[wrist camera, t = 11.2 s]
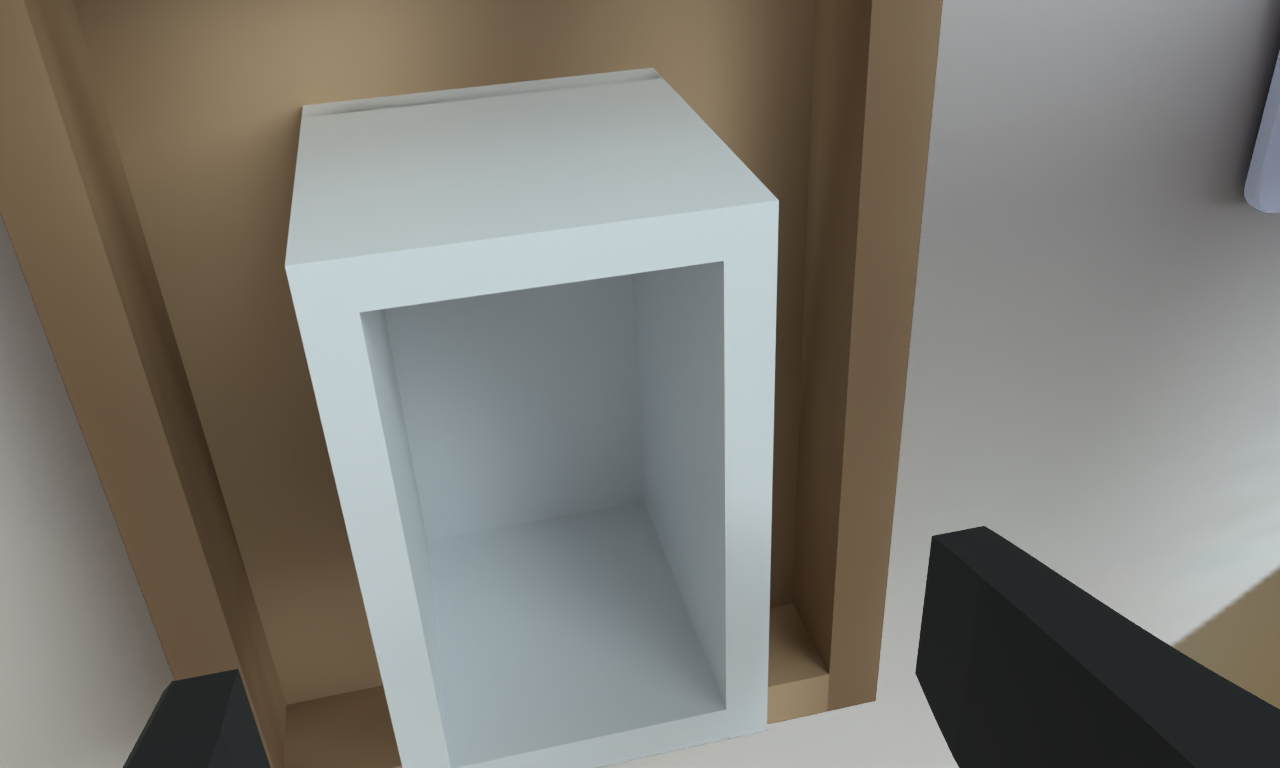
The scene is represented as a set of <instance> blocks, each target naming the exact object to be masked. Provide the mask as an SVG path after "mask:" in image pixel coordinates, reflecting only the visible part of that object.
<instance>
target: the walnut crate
mask: <svg viewBox="0 0 1280 768" xmlns="http://www.w3.org/2000/svg"><path fill="white" fill-rule="evenodd" d="M942 4H943V0H0V213H1V216H2V218H3V221H4V224H5V226H6V229H7V232H8V234H9V237H10V240H11V242H12V245H13V248H14V251H15V253H16V256H17V259H18V261H19V264H20V267H21V269H22V272H23V275H24V277H25V280H26V283H27V285H28V288H29V291H30V293H31V296H32V299H33V301H34V304H35V307H36V310H37V312H38V315H39V318H40V320H41V323H42V326H43V328H44V331H45V334H46V336H47V339H48V342H49V344H50V347H51V350H52V352H53V355H54V358H55V361H56V363H57V366H58V369H59V371H60V374H61V377H62V379H63V382H64V385H65V387H66V390H67V393H68V395H69V398H70V401H71V403H72V406H73V409H74V411H75V414H76V417H77V420H78V422H79V425H80V428H81V430H82V433H83V436H84V438H85V441H86V444H87V446H88V449H89V452H90V454H91V457H92V460H93V462H94V465H95V468H96V470H97V473H98V476H99V479H100V481H101V484H102V487H103V489H104V492H105V495H106V497H107V500H108V503H109V505H110V508H111V511H112V513H113V516H114V519H115V521H116V524H117V527H118V530H119V532H120V535H121V538H122V540H123V543H124V546H125V548H126V551H127V554H128V556H129V559H130V562H131V564H132V567H133V570H134V572H135V575H136V578H137V580H138V583H139V586H140V589H141V591H142V594H143V597H144V599H145V602H146V605H147V607H148V610H149V613H150V615H151V618H152V621H153V623H154V626H155V629H156V631H157V634H158V637H159V639H160V642H161V645H162V648H163V650H164V653H165V656H166V658H167V661H168V664H169V666H170V669H171V672H172V674H173V677H174V680H175V681H177V680H182V679H187V678H192V677H197V676H203V675H208V674H213V673H218V672H224V671H229V670H234V669H239V672H240V675H241V679H242V682H243V685H244V688H245V691H246V694H247V697H248V700H249V703H250V706H251V709H252V712H253V715H254V718H255V721H256V724H257V727H258V730H259V733H260V736H261V739H262V743H263V746H264V749H265V752H266V755H267V758H268V761H269V764H270V767H271V768H402V763H401V759H400V755H399V751H398V746H397V742H396V738H395V734H394V729H393V725H392V721H391V717H390V712H389V708H388V704H387V700H386V695H385V691H384V687H383V683H382V678H381V674H380V670H379V665H378V661H377V657H376V653H375V648H374V644H373V640H372V636H371V631H370V627H369V623H368V619H367V614H366V610H365V606H364V602H363V597H362V593H361V589H360V585H359V580H358V576H357V572H356V568H355V563H354V559H353V555H352V551H351V546H350V542H349V538H348V533H347V529H346V525H345V521H344V516H343V512H342V508H341V504H340V499H339V495H338V491H337V487H336V482H335V478H334V474H333V470H332V465H331V461H330V457H329V453H328V448H327V444H326V440H325V436H324V431H323V427H322V423H321V419H320V414H319V410H318V406H317V401H316V397H315V393H314V389H313V384H312V380H311V376H310V372H309V367H308V363H307V359H306V355H305V350H304V346H303V342H302V338H301V333H300V329H299V325H298V321H297V316H296V312H295V308H294V304H293V299H292V295H291V291H290V287H289V282H288V278H287V274H286V270H285V259H286V250H287V241H288V233H289V224H290V215H291V206H292V197H293V189H294V180H295V171H296V162H297V153H298V145H299V136H300V127H301V118H302V109H303V105H312V104H321V103H330V102H340V101H349V100H358V99H367V98H377V97H386V96H395V95H404V94H413V93H423V92H432V91H441V90H450V89H460V88H469V87H478V86H487V85H496V84H506V83H515V82H524V81H533V80H543V79H552V78H561V77H570V76H579V75H589V74H598V73H607V72H616V71H626V70H635V69H644V68H654V69H655V70H656V71H657V72H658V73H659V74H660V75H661V76H662V77H663V79H664V80H665V81H666V82H667V83H668V84H669V85H670V86H671V87H672V88H673V89H674V90H675V91H676V92H677V93H678V94H679V95H680V96H681V98H682V99H683V100H684V101H685V102H686V103H687V104H688V105H689V106H690V107H691V108H692V109H693V110H694V111H695V112H696V113H697V114H698V115H699V117H700V118H701V119H702V120H703V121H704V122H705V123H706V124H707V125H708V126H709V127H710V128H711V129H712V130H713V131H714V132H715V133H716V135H717V136H718V137H719V138H720V139H721V140H722V141H723V142H724V143H725V144H726V145H727V146H728V147H729V148H730V149H731V150H732V151H733V152H734V154H735V155H736V156H737V157H738V158H739V159H740V160H741V161H742V162H743V163H744V164H745V165H746V166H747V167H748V168H749V169H750V170H751V171H752V173H753V174H754V175H755V176H756V177H757V178H758V179H759V180H760V181H761V182H762V183H763V184H764V185H765V186H766V187H767V188H768V189H769V191H770V192H771V193H772V194H773V195H774V196H775V197H776V198H777V199H778V200H779V217H778V261H777V305H776V349H775V393H774V437H773V481H772V525H771V569H770V613H769V657H768V701H767V724H772V723H776V722H781V721H785V720H790V719H794V718H799V717H804V716H808V715H813V714H817V713H822V712H826V711H831V710H835V709H840V708H844V707H849V706H854V705H858V704H863V703H867V702H872V701H876V691H877V680H878V670H879V659H880V649H881V638H882V628H883V618H884V607H885V597H886V586H887V576H888V566H889V555H890V545H891V534H892V524H893V514H894V503H895V493H896V482H897V472H898V462H899V451H900V441H901V430H902V420H903V410H904V399H905V389H906V378H907V368H908V358H909V347H910V337H911V326H912V316H913V306H914V295H915V285H916V274H917V264H918V253H919V243H920V233H921V222H922V212H923V201H924V191H925V181H926V170H927V160H928V149H929V139H930V129H931V118H932V108H933V97H934V87H935V77H936V66H937V56H938V45H939V35H940V25H941V14H942Z"/></svg>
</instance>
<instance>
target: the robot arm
mask: <svg viewBox="0 0 1280 768" xmlns="http://www.w3.org/2000/svg"><path fill="white" fill-rule="evenodd" d="M1244 196H1245V199H1246V201H1247V203H1248V204H1250V205H1251V206H1252V207H1254V208H1256V209H1258V210H1260V211H1262V212H1264V213H1278V212H1280V51H1279V54H1278V58H1277V62H1276V66H1275V70H1274V74H1273V78H1272V82H1271V86H1270V89H1269V93H1268V97H1267V101H1266V105H1265V109H1264V113H1263V117H1262V121H1261V125H1260V128H1259V132H1258V136H1257V140H1256V144H1255V148H1254V152H1253V156H1252V160H1251V164H1250V167H1249V171H1248V175H1247V179H1246V183H1245V189H1244ZM916 676H917V678H918V680H919V682H920V685H921V687H922V689H923V692H924V694H925V696H926V698H927V701H928V703H929V705H930V708H931V710H932V712H933V714H934V717H935V719H936V721H937V723H938V725H939V728H940V730H941V732H942V734H943V736H944V738H945V740H946V742H947V744H948V747H949V749H950V751H951V753H952V755H953V757H954V759H955V761H956V762H957V764H958V766H959V768H1280V709H1278V708H1276V707H1274V706H1272V705H1271V704H1269V703H1267V702H1265V701H1264V700H1262V699H1260V698H1258V697H1257V696H1255V695H1253V694H1251V693H1250V692H1248V691H1246V690H1244V689H1242V688H1241V687H1239V686H1237V685H1235V684H1234V683H1232V682H1230V681H1228V680H1227V679H1225V678H1223V677H1221V676H1220V675H1218V674H1216V673H1214V672H1213V671H1211V670H1209V669H1208V668H1206V667H1204V666H1203V665H1201V664H1199V663H1197V662H1196V661H1194V660H1193V659H1191V658H1189V657H1188V656H1186V655H1184V654H1183V653H1181V652H1179V651H1178V650H1176V649H1174V648H1173V647H1171V646H1170V645H1168V644H1166V643H1165V642H1163V641H1162V640H1160V639H1158V638H1157V637H1155V636H1154V635H1152V634H1150V633H1149V632H1147V631H1146V630H1144V629H1142V628H1141V627H1139V626H1138V625H1136V624H1135V623H1133V622H1131V621H1130V620H1128V619H1127V618H1125V617H1124V616H1122V615H1120V614H1119V613H1117V612H1116V611H1114V610H1113V609H1111V608H1110V607H1108V606H1107V605H1105V604H1103V603H1102V602H1100V601H1099V600H1097V599H1096V598H1094V597H1093V596H1091V595H1090V594H1088V593H1087V592H1085V591H1084V590H1082V589H1081V588H1079V587H1078V586H1076V585H1075V584H1073V583H1072V582H1070V581H1068V580H1067V579H1065V578H1064V577H1062V576H1061V575H1059V574H1058V573H1056V572H1055V571H1053V570H1052V569H1050V568H1049V567H1047V566H1046V565H1044V564H1043V563H1041V562H1040V561H1038V560H1037V559H1035V558H1034V557H1032V556H1031V555H1029V554H1028V553H1026V552H1025V551H1023V550H1022V549H1020V548H1018V547H1017V546H1015V545H1014V544H1012V543H1011V542H1009V541H1008V540H1006V539H1005V538H1003V537H1001V536H1000V535H998V534H997V533H995V532H993V531H992V530H990V529H988V528H987V527H985V526H982V527H977V528H971V529H966V530H961V531H956V532H951V533H945V534H940V535H935V536H932V541H931V549H930V557H929V565H928V574H927V582H926V590H925V598H924V607H923V615H922V623H921V631H920V640H919V648H918V656H917V664H916ZM123 768H271V767H270V764H269V761H268V758H267V755H266V752H265V749H264V746H263V743H262V739H261V736H260V733H259V730H258V727H257V724H256V721H255V718H254V715H253V712H252V709H251V706H250V703H249V700H248V697H247V694H246V691H245V688H244V685H243V682H242V679H241V675H240V672H239V669H234V670H229V671H224V672H218V673H213V674H208V675H203V676H197V677H192V678H187V679H182V680H177V681H172V682H171V684H170V685H169V686H168V687H167V688H166V690H165V691H164V692H163V694H162V695H161V697H160V699H159V701H158V703H157V705H156V707H155V709H154V711H153V713H152V714H151V716H150V718H149V720H148V722H147V724H146V726H145V728H144V729H143V731H142V733H141V735H140V737H139V739H138V741H137V742H136V744H135V746H134V748H133V750H132V752H131V753H130V755H129V757H128V759H127V761H126V763H125V764H124V766H123Z"/></svg>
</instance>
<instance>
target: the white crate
mask: <svg viewBox="0 0 1280 768" xmlns="http://www.w3.org/2000/svg"><path fill="white" fill-rule="evenodd" d="M778 217H779V200H778V199H777V198H776V197H775V196H774V195H773V194H772V193H771V192H770V191H769V189H768V188H767V187H766V186H765V185H764V184H763V183H762V182H761V181H760V180H759V179H758V178H757V177H756V176H755V175H754V174H753V173H752V171H751V170H750V169H749V168H748V167H747V166H746V165H745V164H744V163H743V162H742V161H741V160H740V159H739V158H738V157H737V156H736V155H735V154H734V152H733V151H732V150H731V149H730V148H729V147H728V146H727V145H726V144H725V143H724V142H723V141H722V140H721V139H720V138H719V137H718V136H717V135H716V133H715V132H714V131H713V130H712V129H711V128H710V127H709V126H708V125H707V124H706V123H705V122H704V121H703V120H702V119H701V118H700V117H699V115H698V114H697V113H696V112H695V111H694V110H693V109H692V108H691V107H690V106H689V105H688V104H687V103H686V102H685V101H684V100H683V99H682V98H681V96H680V95H679V94H678V93H677V92H676V91H675V90H674V89H673V88H672V87H671V86H670V85H669V84H668V83H667V82H666V81H665V80H664V79H663V77H662V76H661V75H660V74H659V73H658V72H657V71H656V70H655V69H654V68H644V69H635V70H626V71H616V72H607V73H598V74H589V75H579V76H570V77H561V78H552V79H543V80H533V81H524V82H515V83H506V84H496V85H487V86H478V87H469V88H460V89H450V90H441V91H432V92H423V93H413V94H404V95H395V96H386V97H377V98H367V99H358V100H349V101H340V102H330V103H321V104H312V105H303V109H302V118H301V127H300V136H299V145H298V153H297V162H296V171H295V180H294V189H293V197H292V206H291V215H290V224H289V233H288V241H287V250H286V259H285V270H286V274H287V278H288V282H289V287H290V291H291V295H292V299H293V304H294V308H295V312H296V316H297V321H298V325H299V329H300V333H301V338H302V342H303V346H304V350H305V355H306V359H307V363H308V367H309V372H310V376H311V380H312V384H313V389H314V393H315V397H316V401H317V406H318V410H319V414H320V419H321V423H322V427H323V431H324V436H325V440H326V444H327V448H328V453H329V457H330V461H331V465H332V470H333V474H334V478H335V482H336V487H337V491H338V495H339V499H340V504H341V508H342V512H343V516H344V521H345V525H346V529H347V533H348V538H349V542H350V546H351V551H352V555H353V559H354V563H355V568H356V572H357V576H358V580H359V585H360V589H361V593H362V597H363V602H364V606H365V610H366V614H367V619H368V623H369V627H370V631H371V636H372V640H373V644H374V648H375V653H376V657H377V661H378V665H379V670H380V674H381V678H382V683H383V687H384V691H385V695H386V700H387V704H388V708H389V712H390V717H391V721H392V725H393V729H394V734H395V738H396V742H397V746H398V751H399V755H400V759H401V763H402V768H599V767H603V766H608V765H612V764H617V763H621V762H626V761H630V760H635V759H639V758H644V757H648V756H653V755H657V754H662V753H666V752H671V751H675V750H680V749H684V748H689V747H694V746H698V745H703V744H707V743H712V742H716V741H721V740H725V739H730V738H734V737H739V736H743V735H748V734H752V733H757V732H761V731H766V730H767V701H768V657H769V613H770V569H771V525H772V481H773V437H774V393H775V349H776V305H777V261H778Z"/></svg>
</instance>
